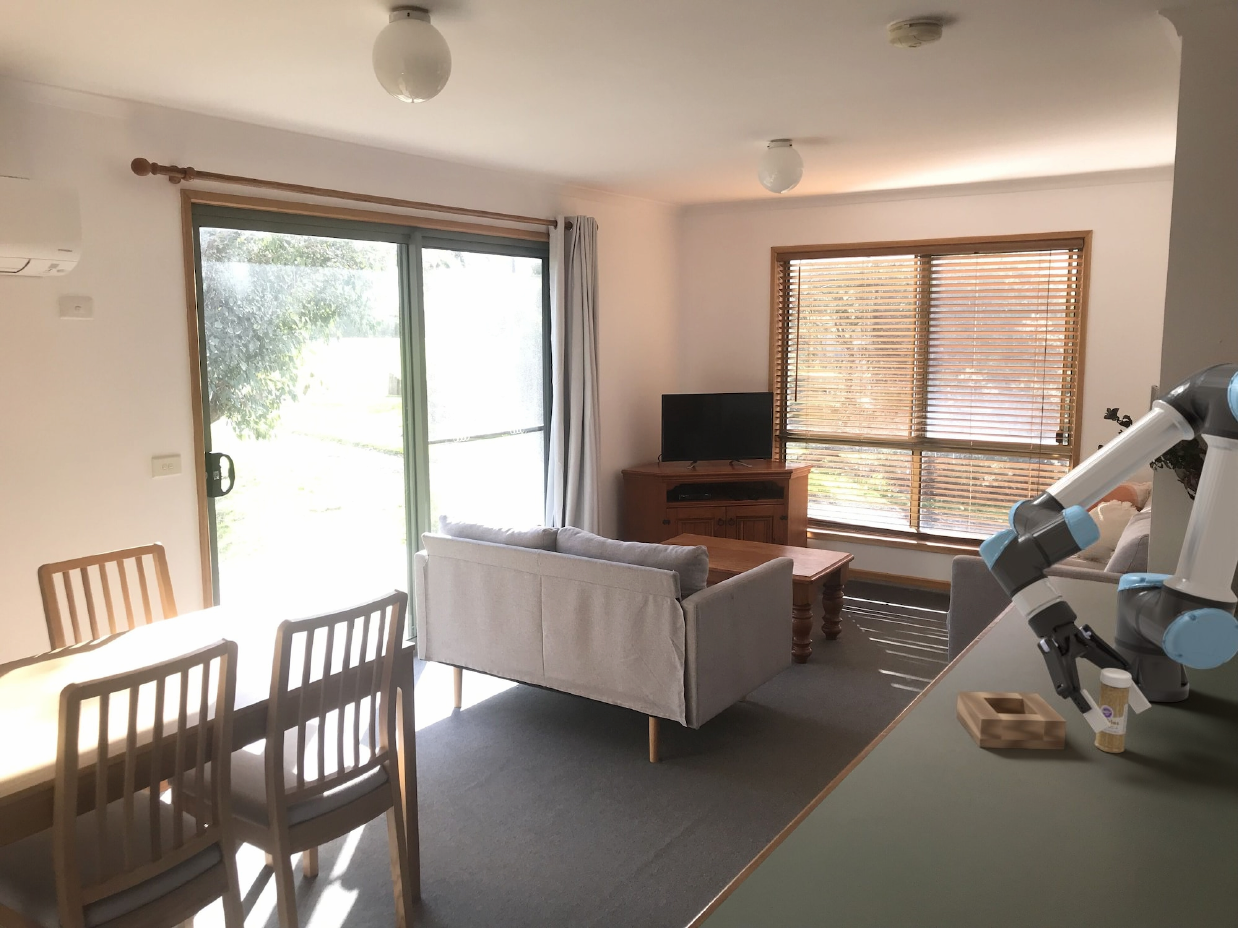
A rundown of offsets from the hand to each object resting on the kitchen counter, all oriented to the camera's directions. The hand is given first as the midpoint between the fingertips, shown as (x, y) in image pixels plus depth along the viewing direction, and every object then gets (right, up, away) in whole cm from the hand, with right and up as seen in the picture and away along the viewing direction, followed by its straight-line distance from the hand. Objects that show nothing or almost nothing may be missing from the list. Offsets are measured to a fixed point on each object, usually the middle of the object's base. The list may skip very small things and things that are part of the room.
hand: (1124, 719), depth 152 cm
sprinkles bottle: (-1, -6, +3) cm, 6 cm away
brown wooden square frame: (-16, -5, +8) cm, 18 cm away
